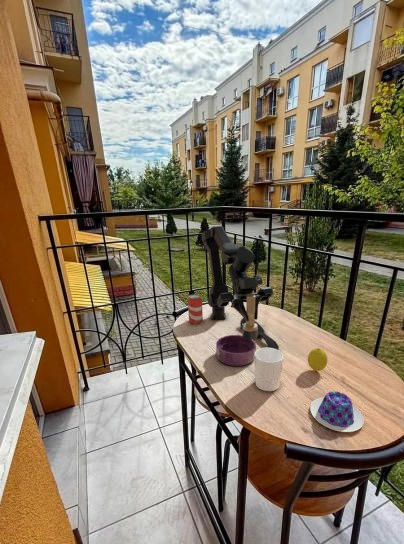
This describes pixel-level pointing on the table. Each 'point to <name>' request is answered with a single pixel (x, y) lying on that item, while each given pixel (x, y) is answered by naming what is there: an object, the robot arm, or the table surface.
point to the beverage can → (195, 309)
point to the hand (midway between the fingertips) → (252, 320)
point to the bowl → (235, 350)
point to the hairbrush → (262, 335)
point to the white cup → (268, 368)
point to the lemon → (317, 359)
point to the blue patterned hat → (337, 412)
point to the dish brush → (250, 320)
